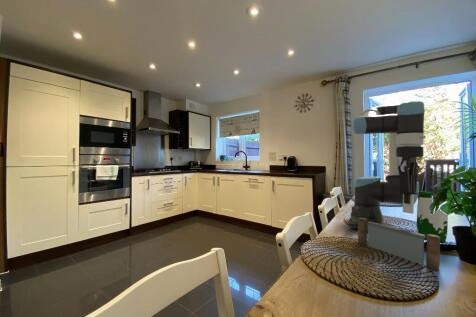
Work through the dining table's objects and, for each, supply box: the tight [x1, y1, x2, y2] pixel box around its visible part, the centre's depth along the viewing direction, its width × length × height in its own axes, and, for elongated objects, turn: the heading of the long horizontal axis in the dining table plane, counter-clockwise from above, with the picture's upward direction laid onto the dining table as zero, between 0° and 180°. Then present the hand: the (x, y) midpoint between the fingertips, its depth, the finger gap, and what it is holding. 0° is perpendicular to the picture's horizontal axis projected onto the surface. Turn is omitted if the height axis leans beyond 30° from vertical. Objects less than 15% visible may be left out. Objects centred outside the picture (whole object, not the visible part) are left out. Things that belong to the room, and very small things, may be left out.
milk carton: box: [416, 190, 449, 244], centre depth 85 cm, size 9×9×20 cm
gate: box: [367, 221, 426, 265], centre depth 73 cm, size 16×2×9 cm, turn 34°
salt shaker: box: [347, 205, 359, 233], centre depth 98 cm, size 6×6×12 cm
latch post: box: [425, 234, 441, 272], centre depth 65 cm, size 3×3×10 cm
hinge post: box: [357, 218, 368, 247], centre depth 82 cm, size 3×3×10 cm
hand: (408, 212), depth 76 cm, fingers closed
